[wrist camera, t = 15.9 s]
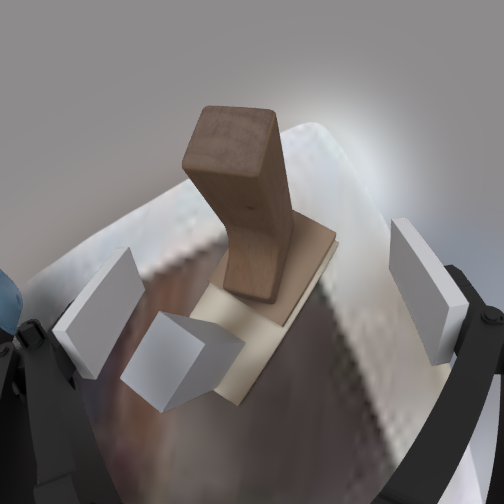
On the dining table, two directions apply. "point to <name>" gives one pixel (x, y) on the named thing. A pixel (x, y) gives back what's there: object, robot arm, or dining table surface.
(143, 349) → the grey pillar
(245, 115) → the wooden block
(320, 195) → the dining table surface
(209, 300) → the base board
